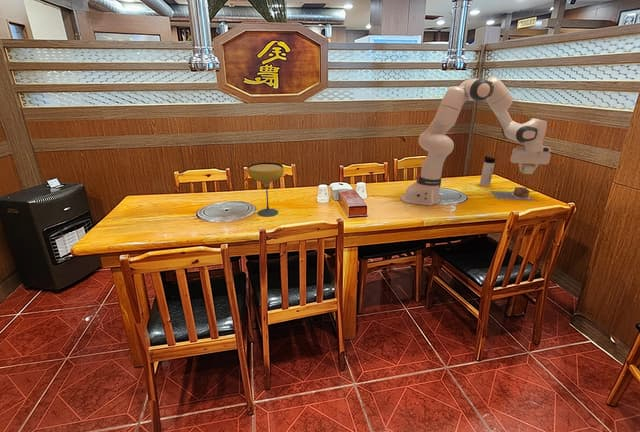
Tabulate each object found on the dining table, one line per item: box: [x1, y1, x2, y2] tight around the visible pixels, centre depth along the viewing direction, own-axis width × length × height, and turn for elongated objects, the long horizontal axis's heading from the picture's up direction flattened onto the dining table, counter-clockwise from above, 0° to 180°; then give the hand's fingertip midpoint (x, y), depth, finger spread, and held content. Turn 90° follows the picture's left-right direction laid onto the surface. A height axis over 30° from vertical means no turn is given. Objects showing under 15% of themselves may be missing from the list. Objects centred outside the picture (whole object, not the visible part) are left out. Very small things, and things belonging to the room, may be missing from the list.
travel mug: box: [479, 155, 496, 188], centre depth 224 cm, size 6×7×20 cm
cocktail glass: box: [247, 162, 285, 218], centre depth 178 cm, size 18×18×25 cm
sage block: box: [519, 164, 535, 175], centre depth 202 cm, size 5×5×4 cm
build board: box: [489, 190, 534, 202], centre depth 209 cm, size 20×15×1 cm
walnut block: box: [513, 186, 530, 198], centre depth 207 cm, size 6×6×4 cm
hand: (526, 170), depth 202 cm, fingers closed on sage block, 5 cm apart
